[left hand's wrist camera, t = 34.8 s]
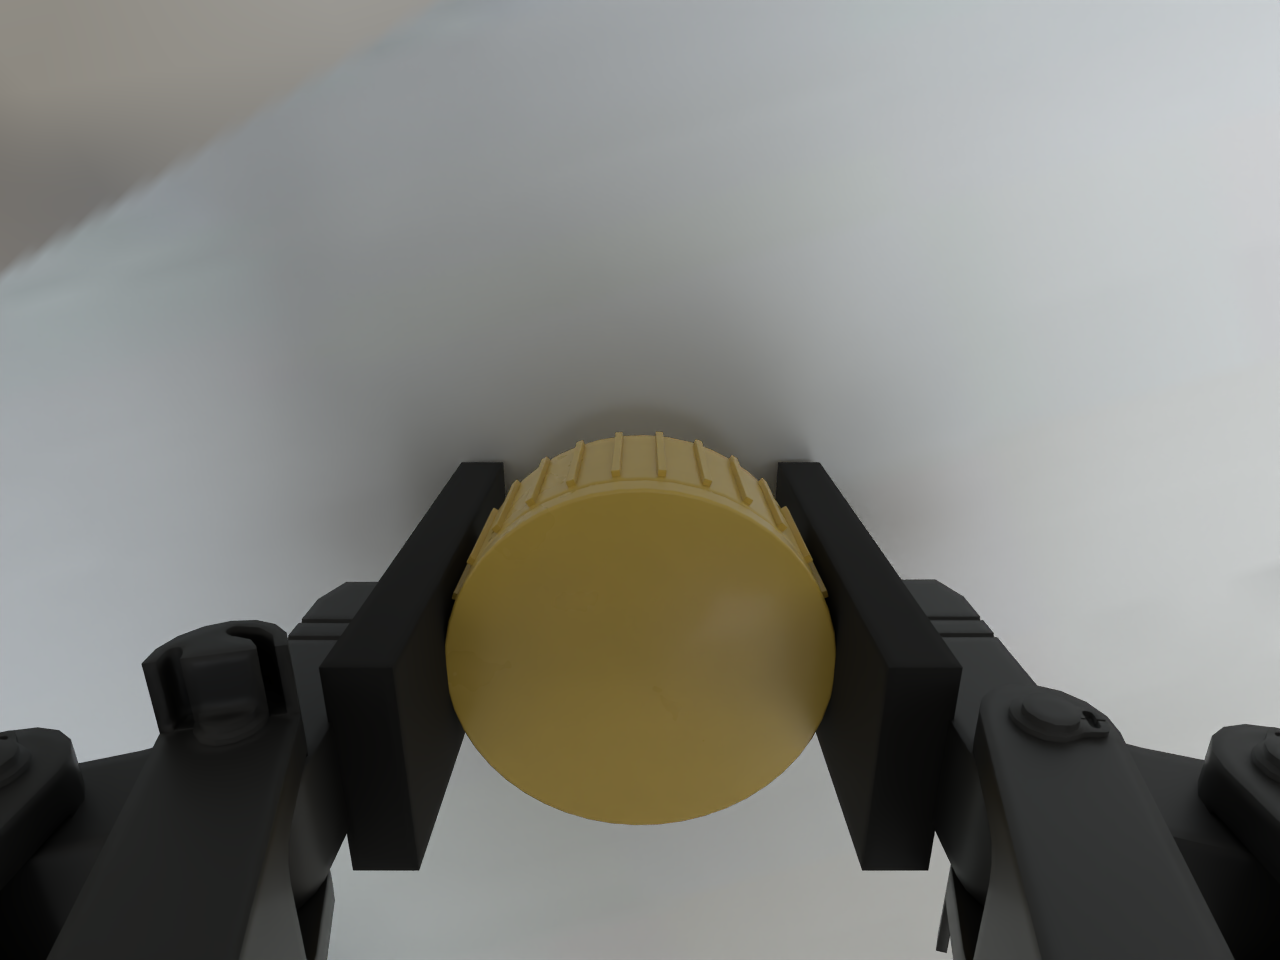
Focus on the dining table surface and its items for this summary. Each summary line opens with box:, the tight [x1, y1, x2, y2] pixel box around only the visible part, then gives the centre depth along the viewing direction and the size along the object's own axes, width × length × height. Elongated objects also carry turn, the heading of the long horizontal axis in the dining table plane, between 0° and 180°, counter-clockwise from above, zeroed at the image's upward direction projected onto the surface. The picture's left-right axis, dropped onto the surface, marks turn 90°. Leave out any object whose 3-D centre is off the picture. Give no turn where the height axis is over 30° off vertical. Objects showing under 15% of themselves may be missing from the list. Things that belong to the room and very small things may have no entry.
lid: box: [445, 432, 836, 825], centre depth 11 cm, size 5×5×2 cm
